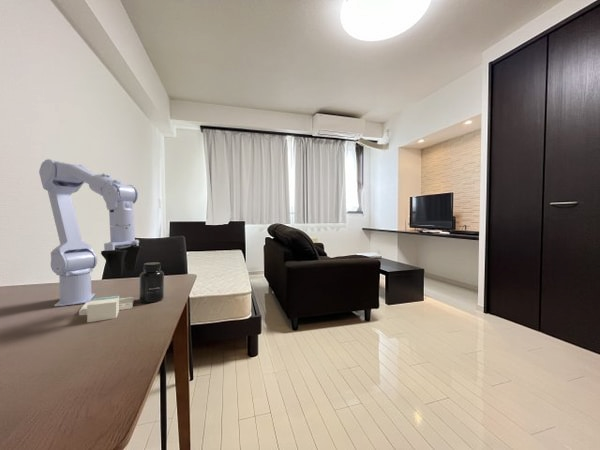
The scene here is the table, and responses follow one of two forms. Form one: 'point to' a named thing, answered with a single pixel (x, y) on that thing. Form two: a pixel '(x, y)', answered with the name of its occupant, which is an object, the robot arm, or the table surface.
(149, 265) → the supplement bottle
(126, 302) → the ticket
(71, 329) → the table surface
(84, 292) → the robot arm
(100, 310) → the teal striped cube
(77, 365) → the table surface
